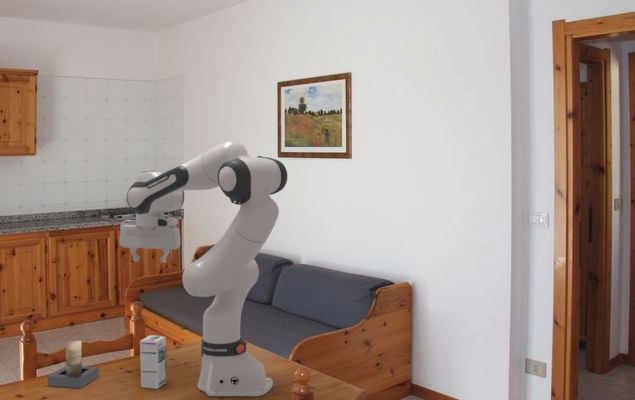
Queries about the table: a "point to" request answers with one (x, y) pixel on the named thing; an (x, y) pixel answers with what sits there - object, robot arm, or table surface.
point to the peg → (73, 358)
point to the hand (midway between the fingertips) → (149, 261)
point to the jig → (73, 378)
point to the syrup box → (153, 361)
